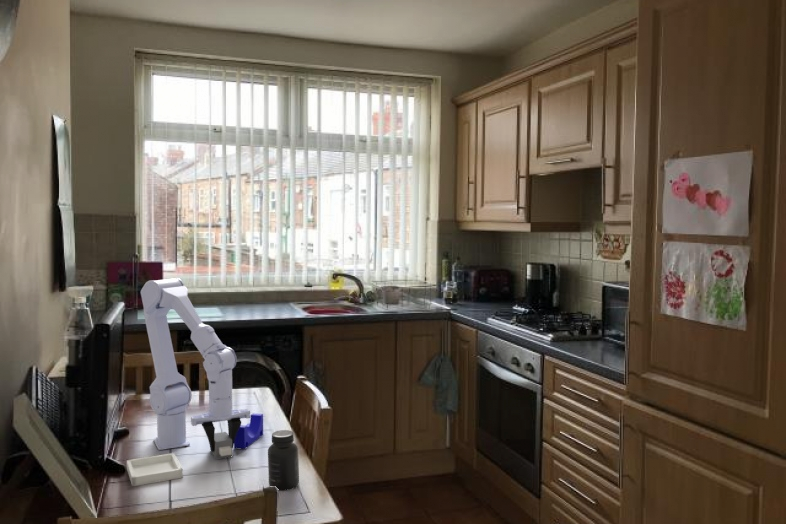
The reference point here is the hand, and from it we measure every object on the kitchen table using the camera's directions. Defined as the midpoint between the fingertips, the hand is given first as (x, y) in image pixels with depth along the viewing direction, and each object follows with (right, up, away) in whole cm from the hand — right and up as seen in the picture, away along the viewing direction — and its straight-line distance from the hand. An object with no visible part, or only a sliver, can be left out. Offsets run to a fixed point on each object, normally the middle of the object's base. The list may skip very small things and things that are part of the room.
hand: (221, 449), depth 169 cm
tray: (-13, -2, -12) cm, 18 cm away
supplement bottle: (+19, -3, -19) cm, 27 cm away
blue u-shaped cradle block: (+4, -1, +10) cm, 11 cm away
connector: (0, -1, 0) cm, 2 cm away
